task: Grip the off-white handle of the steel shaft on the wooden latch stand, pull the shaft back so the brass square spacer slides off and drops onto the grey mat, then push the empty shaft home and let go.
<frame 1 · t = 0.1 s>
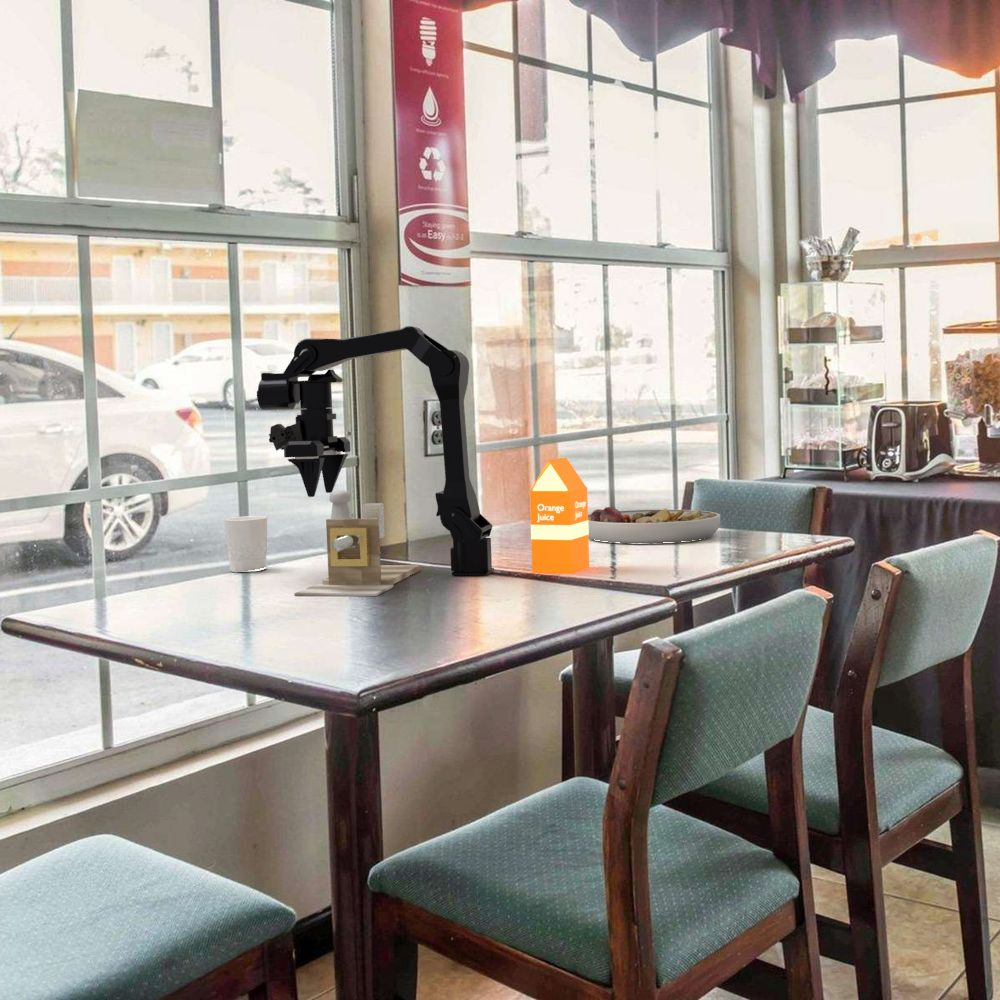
hand: (320, 494, 234), 15 cm above the table, tool pointing down, fingers open, 9 cm apart
spacer: (350, 565, 216), point 4 cm above the table, touching shaft
salt shaker: (342, 554, 266), on the table
wooden latch stand: (360, 583, 221), on the table
white cup: (248, 571, 244), on the table
orange juice: (560, 571, 231), on the table
bowl: (650, 539, 277), on the table
shaft: (357, 526, 220), point 10 cm above the table, slide at 0.0 cm, touching spacer
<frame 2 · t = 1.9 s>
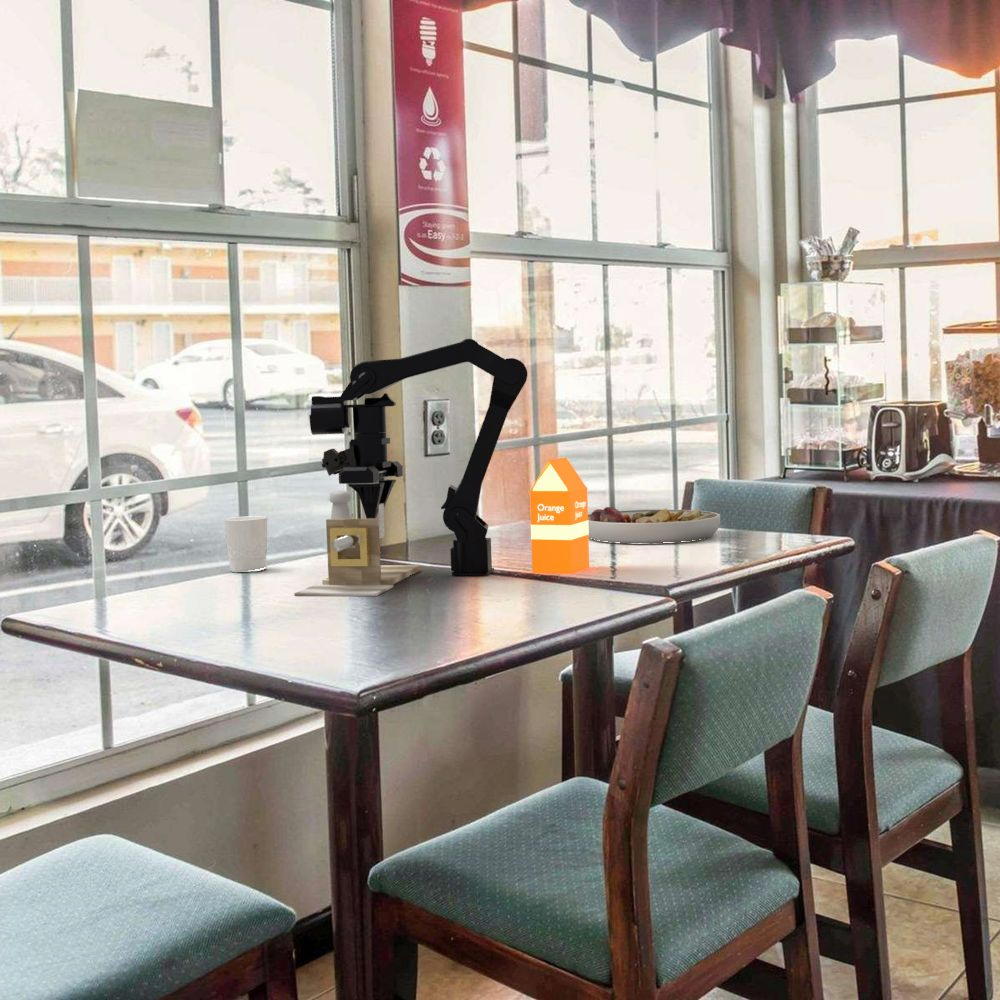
hand: (373, 520, 229), 10 cm above the table, tool pointing down, fingers closed on shaft, 3 cm apart
shaft: (357, 526, 220), point 10 cm above the table, slide at 0.0 cm, touching gripper, spacer
everything else where it was.
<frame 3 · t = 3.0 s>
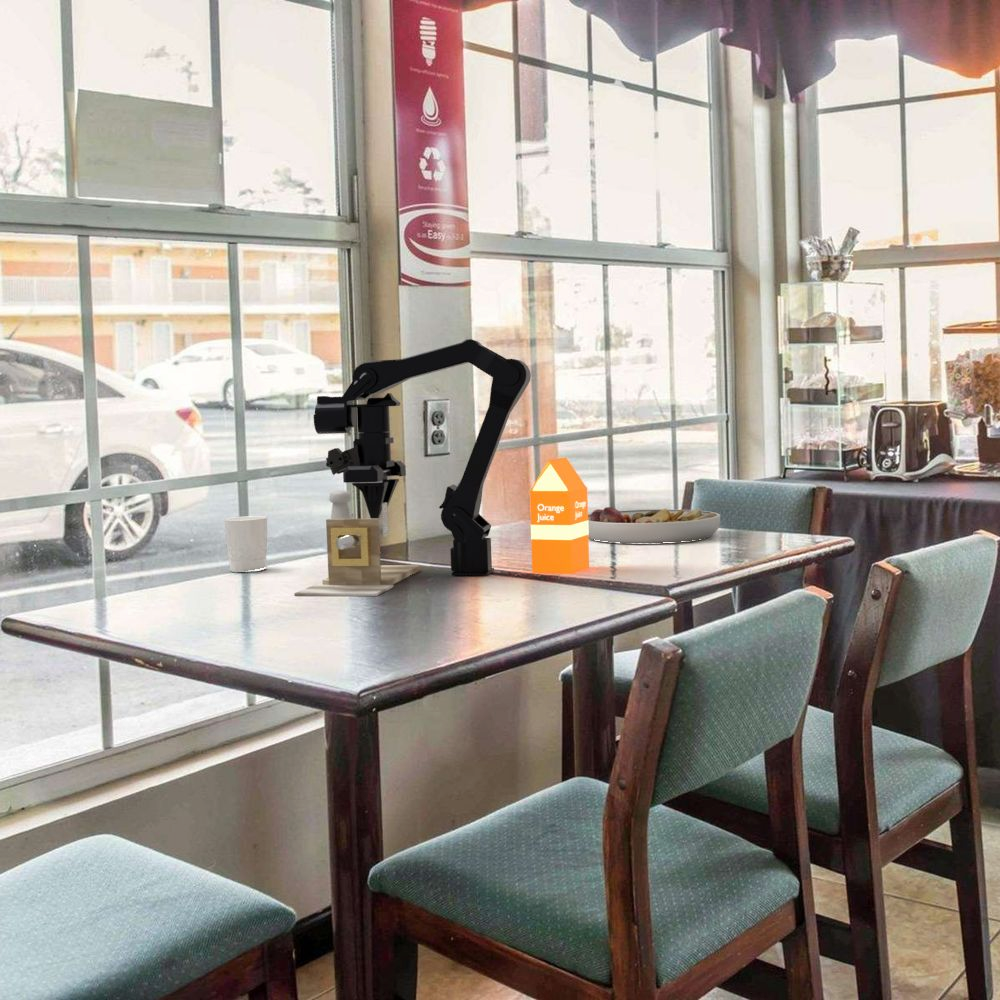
hand: (377, 519, 231), 10 cm above the table, tool pointing down, fingers closed on shaft, 3 cm apart
shaft: (361, 525, 222), point 10 cm above the table, slide at 2.1 cm, touching gripper, spacer
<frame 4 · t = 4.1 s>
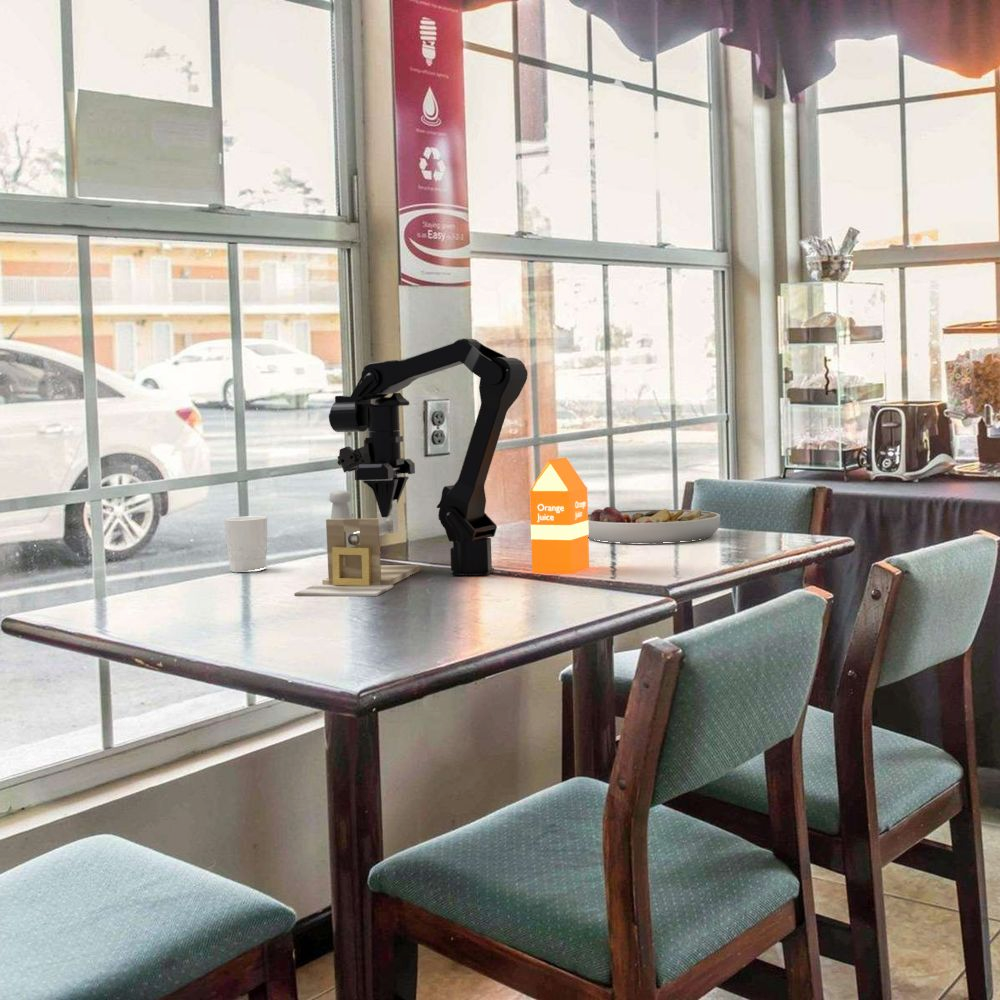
hand: (387, 516, 237), 10 cm above the table, tool pointing down, fingers closed on shaft, 3 cm apart
spacer: (352, 584, 217), resting on wooden latch stand
shaft: (372, 521, 228), point 10 cm above the table, slide at 8.2 cm, touching gripper
everything else where it was.
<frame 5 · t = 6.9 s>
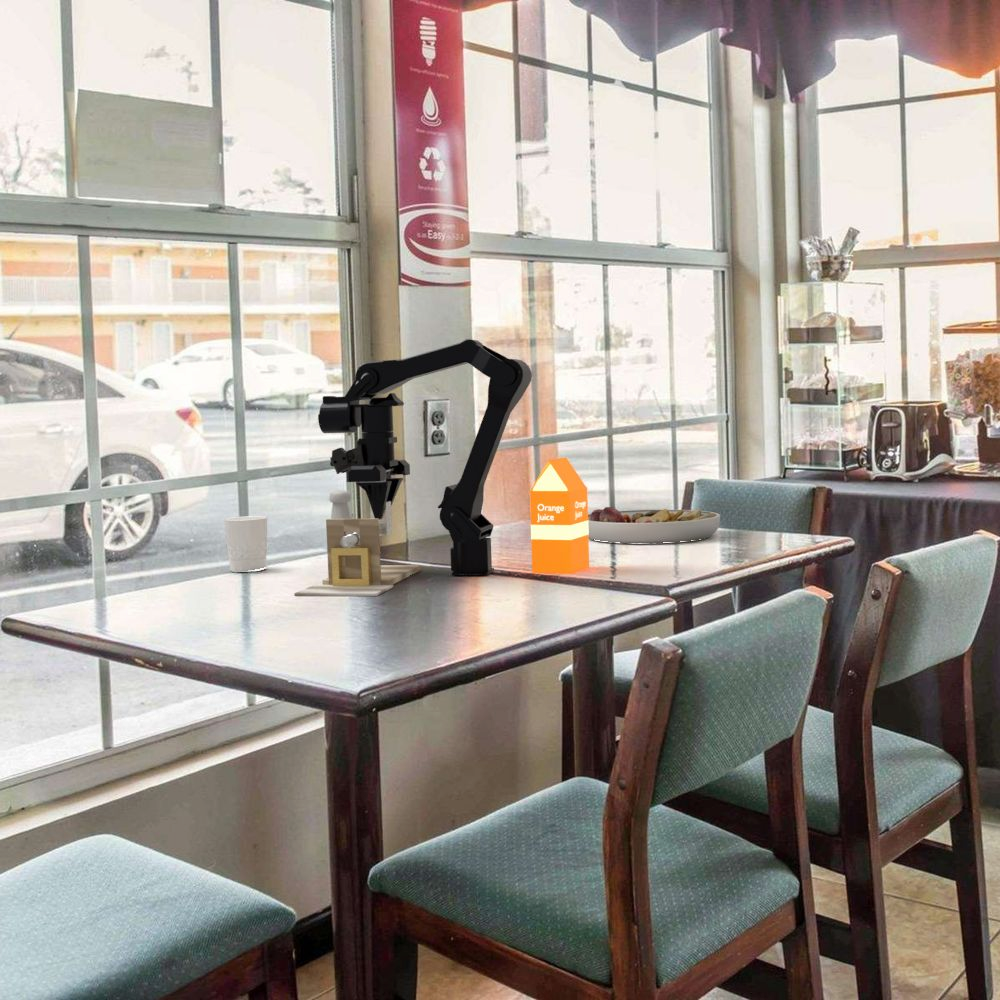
hand: (381, 518, 233), 10 cm above the table, tool pointing down, fingers closed on shaft, 3 cm apart
shaft: (365, 523, 224), point 10 cm above the table, slide at 4.3 cm, touching gripper
everything else where it was.
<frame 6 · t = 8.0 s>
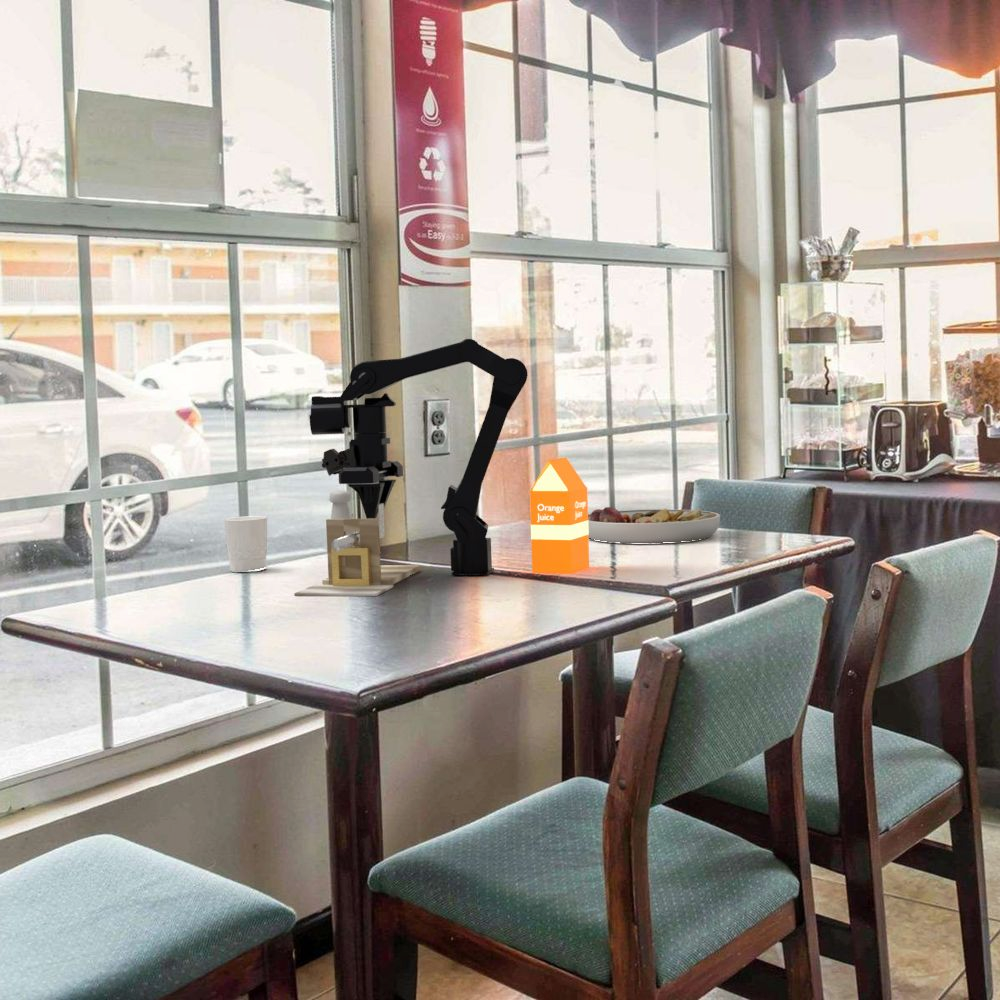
hand: (373, 520, 229), 10 cm above the table, tool pointing down, fingers closed on shaft, 3 cm apart
shaft: (357, 526, 220), point 10 cm above the table, slide at 0.0 cm, touching gripper
everything else where it was.
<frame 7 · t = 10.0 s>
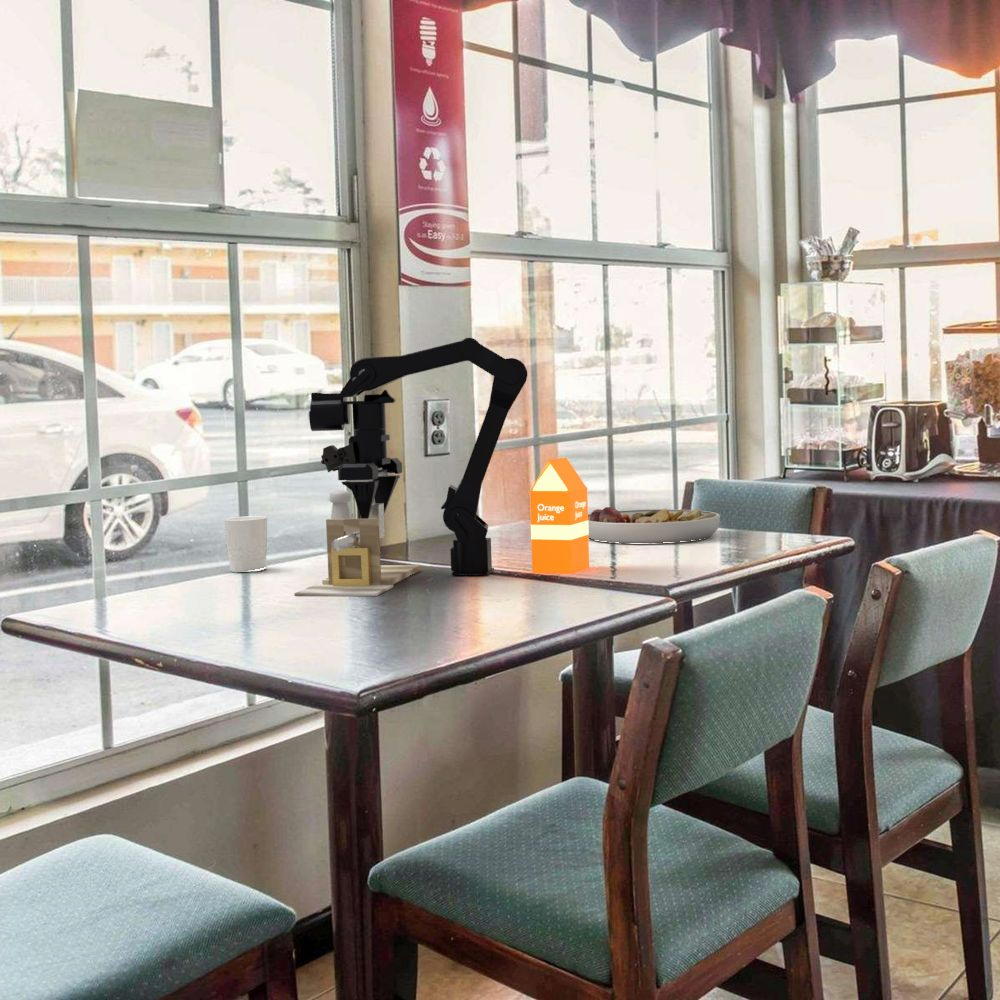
hand: (373, 517, 229), 11 cm above the table, tool pointing down, fingers open, 9 cm apart
shaft: (357, 526, 220), point 10 cm above the table, slide at 0.0 cm
everything else where it was.
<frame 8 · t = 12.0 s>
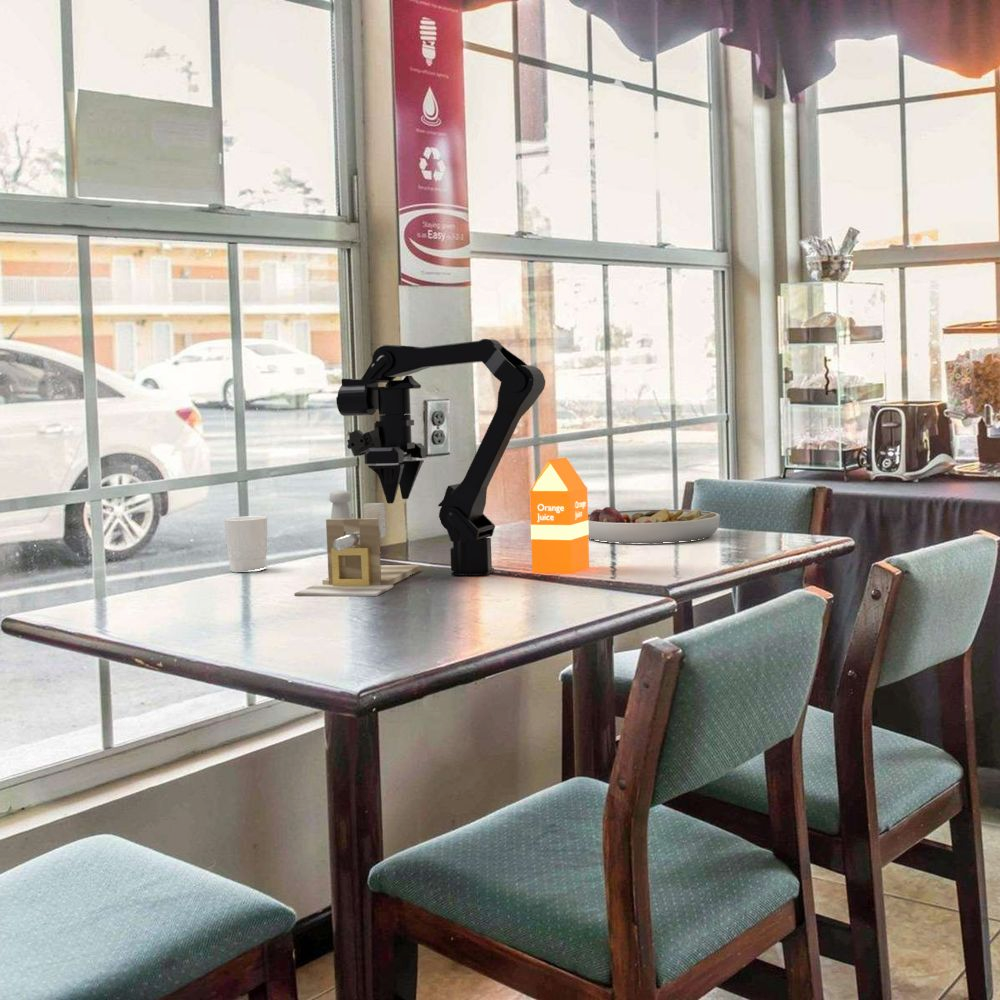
hand: (397, 501, 233), 13 cm above the table, tool pointing down, fingers open, 9 cm apart
shaft: (358, 525, 220), point 10 cm above the table, slide at 0.6 cm
everything else where it was.
at the end: spacer inside the target area on the wooden latch stand (4.1 cm from its centre), point 0.4 cm above the wooden latch stand's base; shaft slide at 0.6 cm; the gripper is holding nothing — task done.
